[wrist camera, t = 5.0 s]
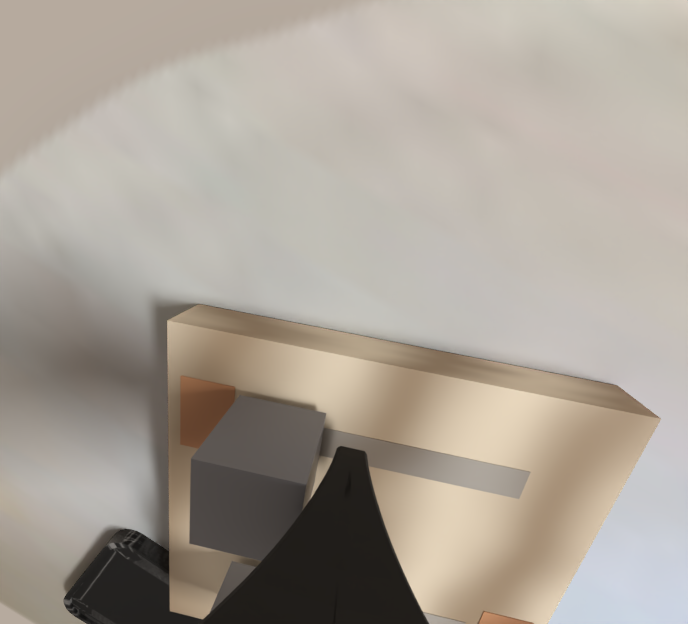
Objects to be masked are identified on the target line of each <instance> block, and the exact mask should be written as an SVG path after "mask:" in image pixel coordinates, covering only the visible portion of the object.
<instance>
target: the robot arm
mask: <svg viewBox="0 0 688 624" xmlns="http://www.w3.org/2000/svg"><path fill="white" fill-rule="evenodd" d="M198 624H429V622H428V621H427V619H426V617H425V615H424V613H423V611H422V609H421V608H420V606H419V604H418V601H417V599H416V597H415V595H414V593H413V591H412V589H411V587H410V585H409V583H408V581H407V578H406V576H405V574H404V572H403V569H402V567H401V565H400V563H399V560H398V558H397V555H396V553H395V551H394V548H393V546H392V543H391V540H390V538H389V535H388V532H387V529H386V527H385V524H384V521H383V518H382V515H381V512H380V508H379V505H378V502H377V499H376V495H375V492H374V488H373V484H372V480H371V476H370V471H369V466H368V459H367V454H366V452H365V451H362V450H358V449H353V448H349V447H344V446H339V447H338V448H337V449H336V452H335V455H334V458H333V460H332V463H331V465H330V467H329V469H328V471H327V472H326V474H325V476H324V478H323V480H322V481H321V483H320V485H319V486H318V488H317V490H316V491H315V493H314V495H313V496H312V498H311V499H310V501H309V502H308V503H307V505H306V506H305V508H304V509H303V511H302V512H301V513H300V515H299V516H298V518H297V519H296V520H295V522H294V523H293V524H292V526H291V527H290V528H289V529H288V531H287V532H286V533H285V535H284V536H283V537H282V538H281V539H280V541H279V542H278V543H277V544H276V545H275V547H274V548H273V549H272V550H271V551H270V552H269V553H268V555H267V556H266V557H265V558H264V559H263V560H262V561H261V562H260V563H259V565H258V566H257V567H256V568H255V569H254V570H253V571H252V572H251V573H250V574H249V575H248V576H247V577H246V578H245V579H244V580H243V581H242V582H241V583H240V584H239V585H238V586H237V587H236V588H235V589H234V590H233V591H232V592H231V593H230V594H229V595H228V596H227V597H226V598H225V599H224V600H223V601H222V602H221V603H220V604H219V605H218V606H217V607H216V608H215V609H214V610H212V611H211V612H210V613H209V614H208V615H207V616H206V617H205V618H204V619H203V620H201V621H200V622H199V623H198Z"/></svg>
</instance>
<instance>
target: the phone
mask: <svg viewBox="0 0 688 624" xmlns="http://www.w3.org/2000/svg"><path fill="white" fill-rule="evenodd" d="M64 605H65V607H66V609H67V610H68V611H69V612H70V613H71V614H73V615H74V616H75V617H77V618H79V619H80V620H82V621H83V622H85V623H87V624H198V623H199V622H200V621H201V620H203V619H199V618H195V617H192V616H188V615H184V614H180V613H176V612H172V611H170V581H169V551H167V550H166V549H164V548H163V547H161V546H160V545H158V544H157V543H155V542H154V541H152V540H151V539H149V538H148V537H146V536H145V535H143V534H141V533H139V532H138V531H134V530H129V529H124V530H120V531H118V532H117V533H116V534H115V535H114V536H113V537H112V539H111V540H110V541H109V542H108V544H107V545H106V546H105V547H104V548H103V550H102V551H101V552H100V553H99V555H98V556H97V557H96V558H95V560H94V561H93V562H92V563H91V565H90V566H89V567H88V568H87V570H86V571H85V572H84V573H83V575H82V576H81V577H80V578H79V579H78V581H77V582H76V583H75V584H74V586H73V587H72V588H71V589H70V591H69V592H68V593H67V594H66V596H65V598H64Z"/></svg>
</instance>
